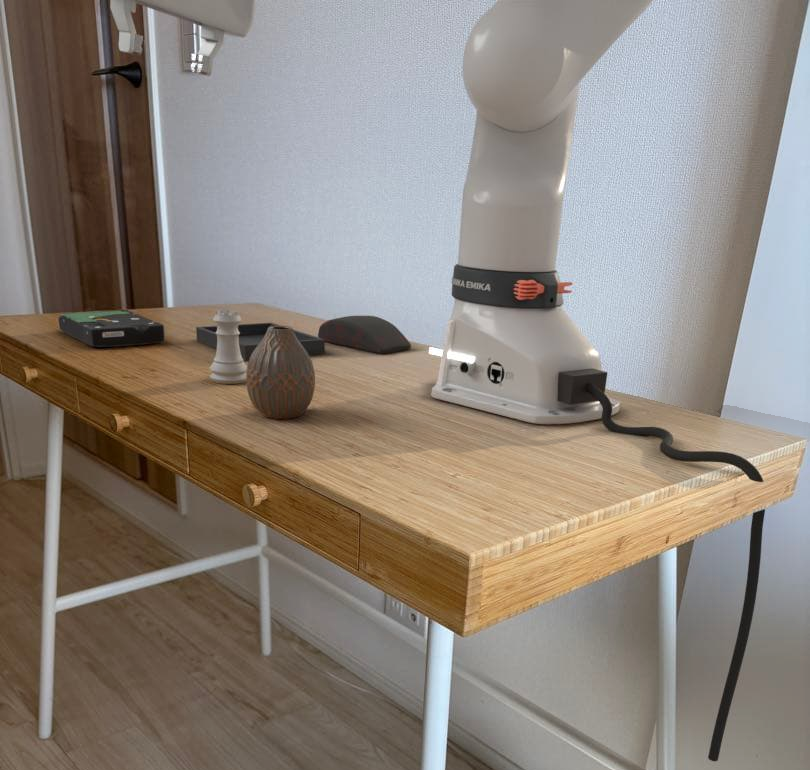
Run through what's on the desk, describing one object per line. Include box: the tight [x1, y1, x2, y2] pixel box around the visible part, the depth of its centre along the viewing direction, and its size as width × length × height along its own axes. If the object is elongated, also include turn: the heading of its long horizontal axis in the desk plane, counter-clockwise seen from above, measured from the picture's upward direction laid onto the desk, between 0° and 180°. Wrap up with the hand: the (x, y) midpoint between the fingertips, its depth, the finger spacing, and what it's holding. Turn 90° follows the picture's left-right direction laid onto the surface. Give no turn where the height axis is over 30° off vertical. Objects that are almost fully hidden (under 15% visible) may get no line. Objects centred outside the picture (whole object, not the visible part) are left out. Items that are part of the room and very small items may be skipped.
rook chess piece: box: [209, 308, 248, 385], centre depth 97 cm, size 4×4×8 cm
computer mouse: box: [317, 315, 412, 355], centre depth 123 cm, size 8×14×4 cm, turn 49°
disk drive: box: [57, 309, 166, 348], centre depth 118 cm, size 10×3×15 cm
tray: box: [195, 322, 326, 362], centre depth 117 cm, size 15×12×2 cm
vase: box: [245, 325, 316, 420], centre depth 84 cm, size 7×7×9 cm
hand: (166, 64), depth 87 cm, fingers open, 8 cm apart
